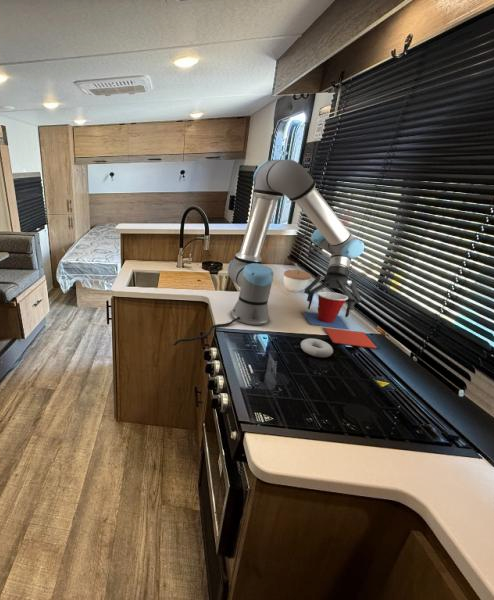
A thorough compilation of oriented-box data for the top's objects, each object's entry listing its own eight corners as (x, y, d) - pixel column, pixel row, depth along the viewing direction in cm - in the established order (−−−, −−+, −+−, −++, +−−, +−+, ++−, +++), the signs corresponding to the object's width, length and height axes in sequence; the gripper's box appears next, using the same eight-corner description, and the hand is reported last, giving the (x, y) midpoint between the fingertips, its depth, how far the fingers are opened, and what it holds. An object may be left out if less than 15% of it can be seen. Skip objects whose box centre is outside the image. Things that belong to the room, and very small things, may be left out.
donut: (326, 346, 115) (296, 342, 117) (328, 339, 113) (298, 334, 116) (335, 361, 106) (303, 356, 108) (338, 353, 104) (306, 348, 107)
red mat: (377, 349, 113) (377, 348, 113) (333, 343, 117) (333, 342, 117) (363, 333, 123) (363, 332, 123) (323, 328, 127) (324, 327, 127)
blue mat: (348, 329, 127) (348, 328, 126) (309, 324, 131) (310, 323, 130) (338, 316, 137) (338, 315, 137) (303, 312, 141) (303, 311, 141)
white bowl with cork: (298, 295, 159) (303, 275, 155) (275, 288, 169) (280, 269, 165) (311, 290, 165) (316, 271, 161) (288, 283, 175) (293, 265, 171)
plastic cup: (331, 314, 138) (339, 290, 133) (345, 326, 128) (354, 299, 123) (306, 313, 139) (312, 289, 134) (318, 325, 129) (326, 299, 124)
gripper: (371, 278, 132) (361, 322, 127) (304, 268, 145) (293, 308, 140) (376, 269, 126) (366, 315, 120) (306, 260, 139) (294, 301, 133)
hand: (327, 311), depth 130 cm, fingers open, 13 cm apart
